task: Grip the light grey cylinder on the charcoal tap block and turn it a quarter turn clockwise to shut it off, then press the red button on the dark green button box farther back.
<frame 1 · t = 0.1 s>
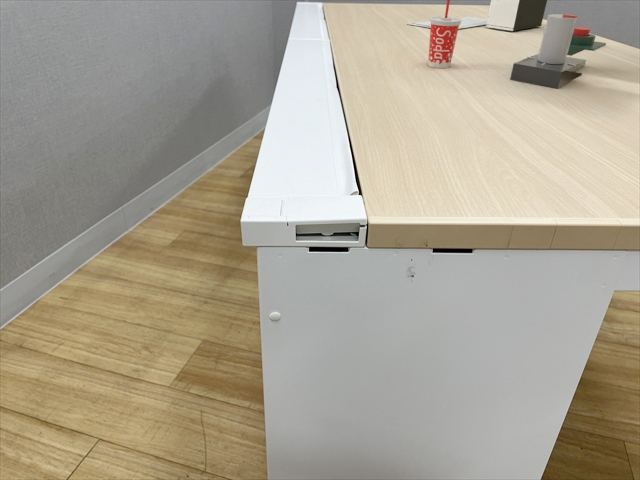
stop button: (580, 32, 115), point 4 cm above the table, slide at 0.1 cm
beverage cup: (438, 66, 102), on the table
button box: (575, 52, 117), on the table
light grey cylinder: (556, 38, 92), point 7 cm above the table, hinge at 90.0°
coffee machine: (474, 26, 148), on the table
tap block: (546, 77, 96), on the table
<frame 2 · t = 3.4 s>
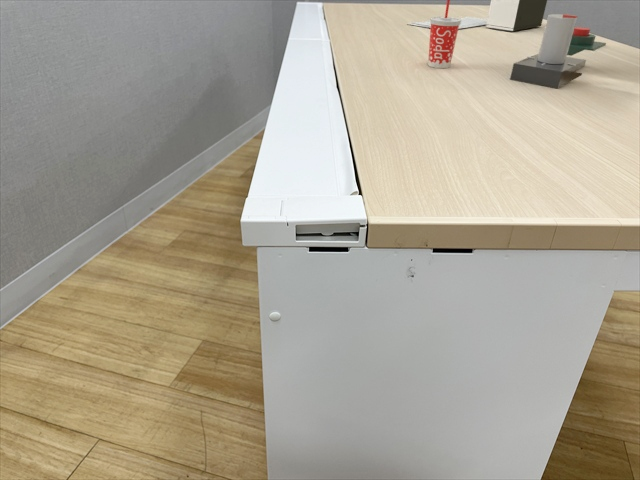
nothing on the table moved.
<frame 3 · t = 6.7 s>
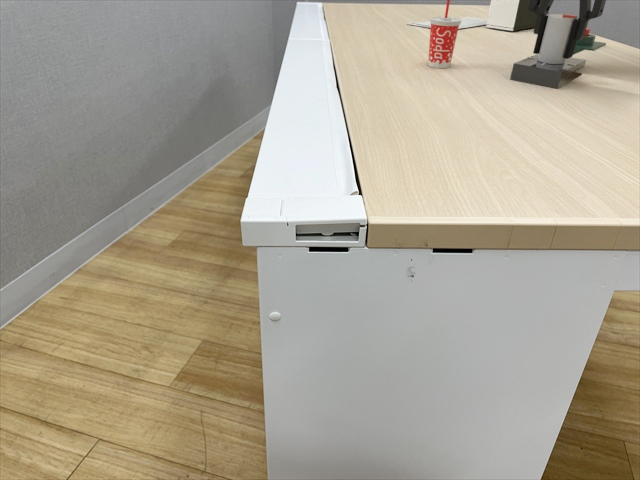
hand: (552, 54, 94), 4 cm above the table, tool pointing down, fingers closed on light grey cylinder, 5 cm apart
light grey cylinder: (556, 38, 92), point 7 cm above the table, hinge at 90.0°, touching gripper
everything else where it was.
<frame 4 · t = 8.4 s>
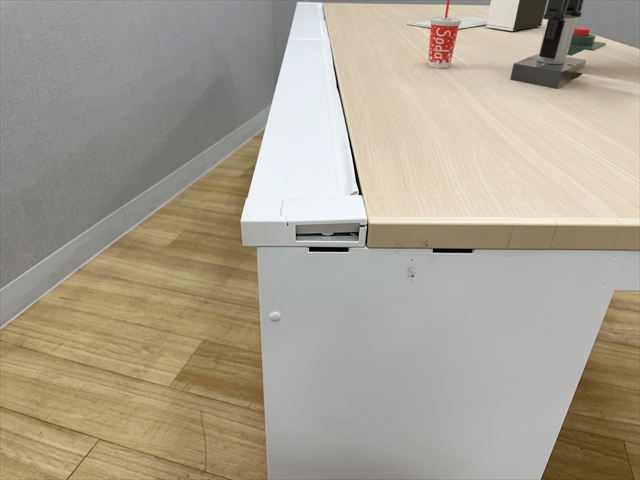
hand: (552, 54, 94), 4 cm above the table, tool pointing down, fingers closed on light grey cylinder, 5 cm apart
light grey cylinder: (556, 38, 92), point 7 cm above the table, hinge at 0.1°, touching gripper
everything else where it was.
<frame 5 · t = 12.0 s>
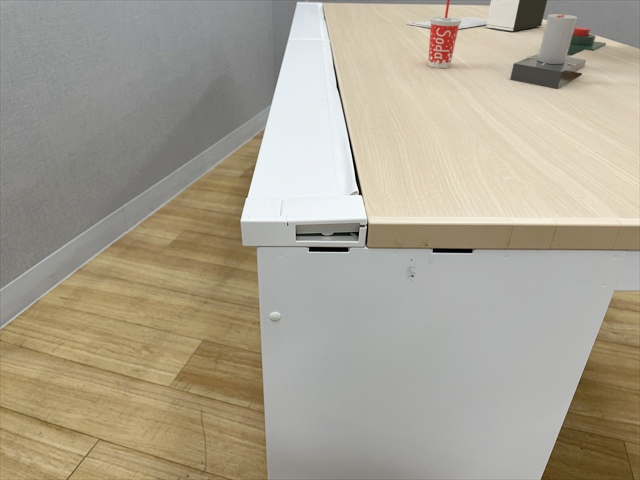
light grey cylinder: (556, 38, 92), point 7 cm above the table, hinge at 0.2°
everything else where it was.
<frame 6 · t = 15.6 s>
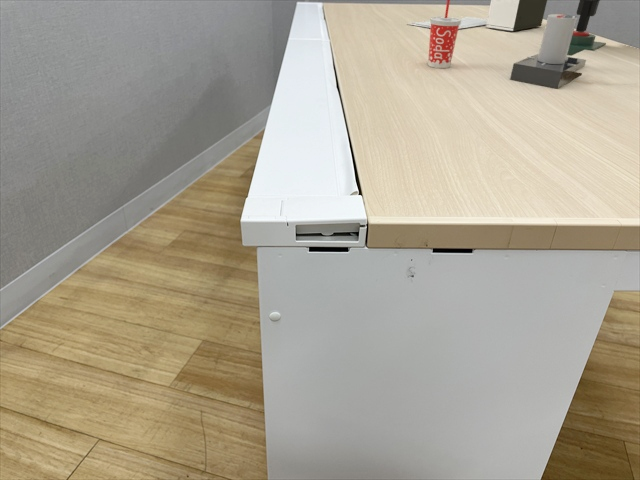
hand: (580, 30, 115), 5 cm above the table, tool pointing down, fingers closed
stop button: (579, 35, 115), point 4 cm above the table, slide at -0.7 cm, touching gripper
everything else where it was.
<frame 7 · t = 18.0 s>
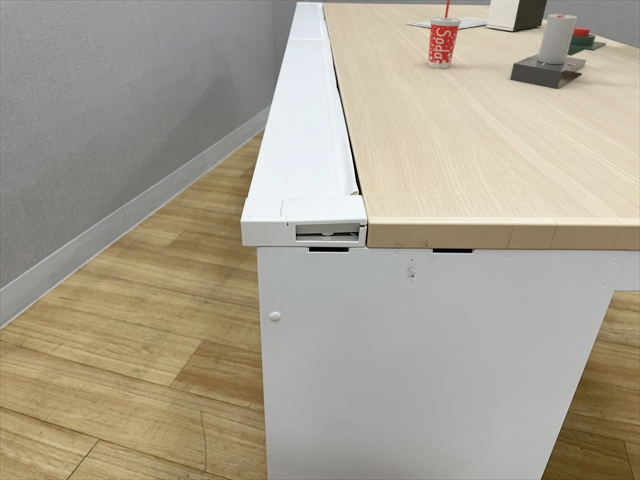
stop button: (580, 32, 115), point 4 cm above the table, slide at 0.1 cm
everything else where it was.
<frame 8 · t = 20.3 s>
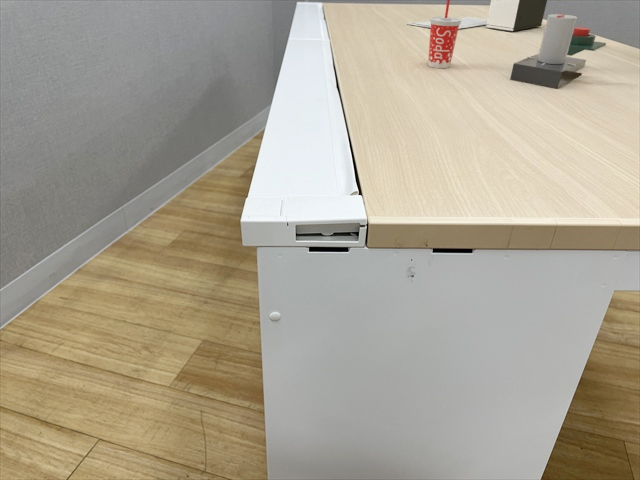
nothing on the table moved.
at the end: light grey cylinder at +0° (first picture: +90°); stop button pushed in 1.0 cm at the most during the clip, back to where it started at the end; stop button slide at 0.1 cm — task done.
